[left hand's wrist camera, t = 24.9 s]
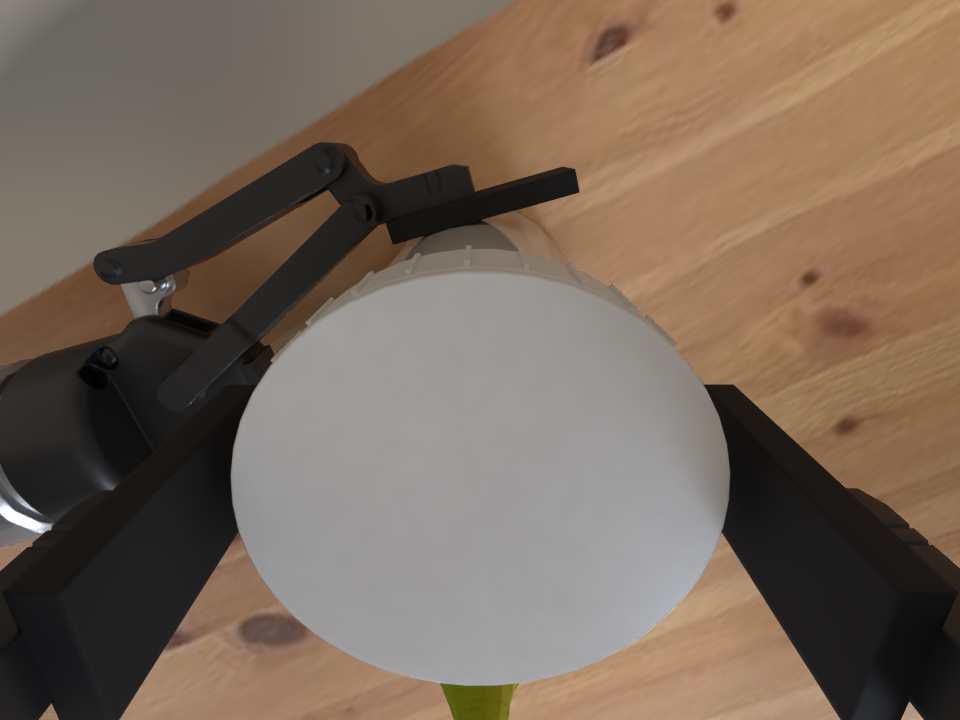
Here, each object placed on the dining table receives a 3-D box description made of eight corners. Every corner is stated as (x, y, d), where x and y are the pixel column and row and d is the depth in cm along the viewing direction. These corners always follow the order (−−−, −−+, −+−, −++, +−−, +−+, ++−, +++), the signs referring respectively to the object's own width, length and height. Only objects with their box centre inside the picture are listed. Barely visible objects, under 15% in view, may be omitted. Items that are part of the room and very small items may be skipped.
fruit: (409, 595, 34) (374, 814, 23) (476, 542, 32) (475, 749, 21) (478, 646, 36) (477, 872, 24) (545, 598, 34) (578, 816, 23)
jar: (580, 350, 28) (704, 595, 12) (422, 388, 28) (357, 661, 13) (546, 181, 24) (657, 233, 9) (370, 229, 25) (203, 350, 10)
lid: (596, 153, 10) (626, 154, 8) (743, 530, 13) (791, 600, 11) (179, 369, 12) (114, 416, 9) (403, 656, 15) (391, 736, 13)
